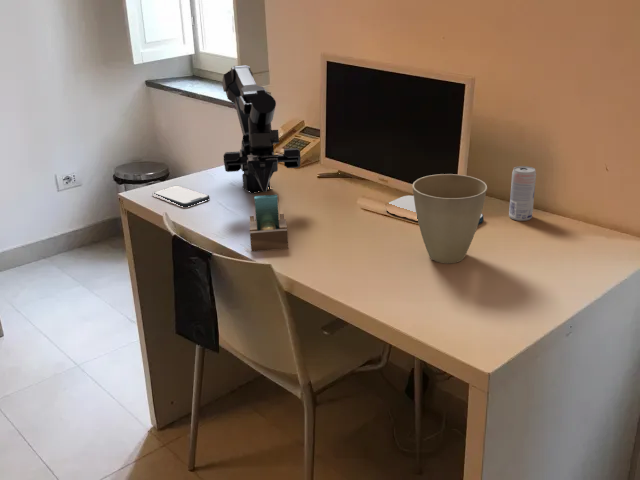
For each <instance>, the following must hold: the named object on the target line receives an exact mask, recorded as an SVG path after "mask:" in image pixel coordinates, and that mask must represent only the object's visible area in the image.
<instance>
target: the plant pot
mask: <svg viewBox="0 0 640 480" xmlns="http://www.w3.org/2000/svg"><path fill="white" fill-rule="evenodd" d="M487 190H488V186H487V184H486V182H485V181H483V180H481V179H479V178H476V177H474V176H470V175H464V174H456V173H455V174H453V173H445V174H444V173H440V174H432V175H431V174H430V175H426V176H423V177H420V178H417V179H416V180H415V181H413V183H412V193H413V194H412V196H414V203H415V209H416V214H417V219H418V222H417V223H418V226H419V230H420V233H421V237H422V240H423V243H424V246H425V249H426V252H427V253H428V256H429V258H430V259H431V260H432V261H434V262H435V263H436V262H437V263H441V264H455V263H458V262H461V261H463V260H464V258H465V256H466V255H467V253H468V251H469V249H470V245H471V244H472V242H473V239H474V236H475V234H476V231H477V229H478V226H479V225H478V223H479V220H480V216H481V213H482V214H483V208H484V204H485V200H486V196H487V195H486V194H487Z"/></svg>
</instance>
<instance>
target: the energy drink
mask: <svg viewBox="0 0 640 480" xmlns="http://www.w3.org/2000/svg"><path fill="white" fill-rule="evenodd" d="M536 177H537V171H536V168H534V167H532V166H526V165H520V166H515V167H513V170H512V173H511V184H510V186H511V187H510V197H509V209H508V217H509V218H510V219H512V220H513V221H517V222H519V221H520V222H525V221H530V220H532V218H533V212H534V198H535V189H536V180H537V178H536Z"/></svg>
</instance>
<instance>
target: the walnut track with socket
mask: <svg viewBox="0 0 640 480" xmlns="http://www.w3.org/2000/svg"><path fill="white" fill-rule="evenodd" d="M286 220H287V219H286V218H285V214H284V213H279V229H276V230H263V231H257V221H256V220H255V216H254V215H250V216H249V239H250V249H251V250H250V251H251V252H263V251H265V252H266V251H275V250H288V249H289V237H288V235H289V233H288V227H287V221H286Z"/></svg>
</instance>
